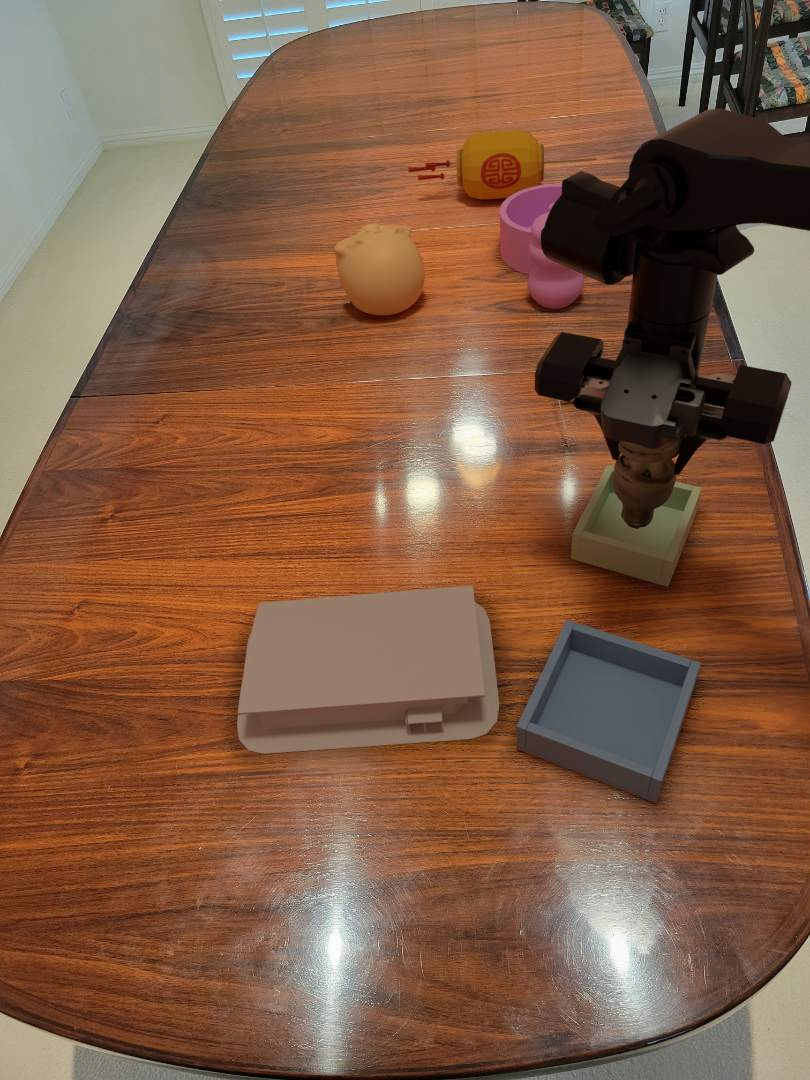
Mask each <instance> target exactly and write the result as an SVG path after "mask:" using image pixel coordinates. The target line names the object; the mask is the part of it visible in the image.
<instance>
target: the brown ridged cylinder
mask: <svg viewBox="0 0 810 1080" xmlns="http://www.w3.org/2000/svg"><path fill="white" fill-rule="evenodd" d="M685 436H686V435H681V436H680V438H679V440H678V441H676V440H672V439H667V441H666V443H665V444H664V445H663V446H661V447H659V448H656V449H650V448H645V447H643V446H641V445H638V444H634V443H629V442H625V441H621V440H620V441H619V443H618V448H619V451H620V452H621V454H620V456H619V458H618V460H615V463H614V467H615V468H614V477H613V486H614V490H615V493H616V495H617V497H618V498H619V500H620V501H621V502H622V506H623V509H622V512H621V517H622V518H623V520H624V521H625V522H626V523H627V525H628V526H630V527H632V528H635V529H639V528H640V527H646V526H647V525H648V524H649V523H650V522H651V521H652V519H653V514H654V509H655V508H658V507H660V506H661V505H663V504H664V503H665V502H666V501H667V500H668V499H669V498H670V496H671V494H672V491H673V487H674V484H675V482H677V477H678V475H675V474H674V470H675V463H676V462H675V461H674V460H673V459H675V458H677V457H678V455H679V452H680V450H681V447H682V444H683V442H684V439H685Z"/></svg>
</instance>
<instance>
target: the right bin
mask: <svg viewBox="0 0 810 1080" xmlns="http://www.w3.org/2000/svg"><path fill="white" fill-rule="evenodd" d="M614 468H615V465H614V466H613V465H610V464H607V465H606V466H605V469H604V470H603V472H602V475H601V476H600V478H599V480H598V482H597V484H596V486H595V488H594V490H593V492H592V493H591V496H590V498H589V500H588V502H587V504H586V506H585V507H584V510H583V512H582V513H581V515H580V518H579V520H578V521H577V524H576V526H575V528H574V529H573V532H572V534H571V550H570V559H571V560H574V561H577V562H581V563H585V564H588V565H591V566H595V567H598V568H601V569H604V570H607V571H608V570H609V571H611V572H615V573H618V574H622V575H625V576H629V577H632V578H635V579H639V580H642V581H646V582H650V583H653V584H656V585H658V586H659V585H660V586H662V587H666V588H669V586H670V583H671V580H672V578H673V576H674V573H675V570H676V568H677V566H678V562H679V560H680V557H681V555H682V553H683V549H684V547H685V546H686V545H685V544H686V542H687V539H688V537H689V534H690V531H691V529H692V526H693V524H694V521H695V519H696V516H697V513H698V509H699V506H700V505H699V504H700V500H701V494H702V490H703V488H702V487H700V486H696V485H692V484H688V483H685V482H680V481H676V482H675V484H674V487H673V491H672V494H671V496H670V498H669V499H668V500H667V501H666V502H665V503H664V504H663V505H661V506H660V507H658V508H655V509H654V514H653V519H652V521H651V522H650V523H649V524H648V525H647V526H646V527H640V528H639V529H635V528H632V527H630V526H628V525H627V523H626V522H625V521H624V520H623V518H622V517H621V512H622V509H623V506H622V502H621V501H620V500H619V498H618V497H617V495H616V493H615V490H614V486H613V477H614Z"/></svg>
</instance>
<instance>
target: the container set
mask: <svg viewBox="0 0 810 1080" xmlns="http://www.w3.org/2000/svg"><path fill="white" fill-rule="evenodd" d="M561 195H562V183H550V184H549V183H548V184H541V185H537V186H535V187H530V188H527V189H524V190H521V191H519V192H517V193H515V194H513V195H511V196H510V197H508V198H505V199H504V201H503V202H501V205H500V207H499V241H500V242H499V244H500V245H499V246H500V250H499V251H500V257H501V260H502V261H503V262H504V264H505V265H506V266H508V267H509V268H510V269H512V270H515V271H516V272H518V273H522V274H524V275H525V274H526V275H527V276H528V278H527V289H528V292H529V293H528V294H529V295H530V296H531V298H532V299H533V300H534V301H535V302H536V303H537V304H538V305H539V306H540V307H543V308H545V309H549V310H558V309H564V308H567V307H569V306H570V305H571V304H572V303H573V302H575V301H576V299H578V297H579V296H580V295H581V294H582V292H583V289H584V284H585V278H584V275H583V274H581V273H579V272H576V271H574V270H572V269H570V268H567V267H565V266H563V265H560V264H558V263H556V262H553V261H551V260H549V259H548V258H547V257H546V256H545V255H544V253H543V250H542V248H541V231H542V229H543V228H544V226H545V222H546V220H547V217H548V215H549V212H550V210H551V209H552V207H553V205H554V203H555V202H556V201H557V199H558V198H559V197H560V196H561Z"/></svg>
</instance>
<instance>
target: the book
mask: <svg viewBox="0 0 810 1080" xmlns="http://www.w3.org/2000/svg"><path fill="white" fill-rule="evenodd" d="M474 591H475V590H474V584H473V585H459V586H449V587H447V586H446V587H436V588H435V587H434V588H424V589H423V588H422V589H411V590H400V591H399V590H398V591H387V592H374V593H361V594H350V595H337V596H326V597H313V598H312V597H311V598H302V599H301V598H300V599H288V600H275V601H263V602H259V603H258V606H257V609H256V612H255V616H254V619H253V624H252V628H251V632H250V635H249V636H248V640H247V644H246V645H247V646H246V653H245V658H244V670H243V675H242V679H241V687H240V693H239V699H238V706H237V719H236V720H237V721H236V728H237V736H238V741H239V742H240V743H241V744H242V745H243V746H244V747H245V749H246V750H247V751H249V752H253V753H256V754H257V753H258V754H262V755H267V754H268V755H269V754H283V753H296V752H297V753H298V752H309V751H310V752H311V751H325V750H339V749H353V748H354V749H355V748H365V747H367V748H368V747H380V746H395V745H407V744H408V745H410V744H425V743H436V742H437V743H438V742H439V743H440V742H449V741H451V742H452V741H465V740H467V741H468V740H473V739H476V738H479V737H481V736H484V735H488V733H489V732H490V731H491V729H492V728H493V727H494V726H495V724H497V722H498V718H499V710H500V699H499V690H498V681H497V671H496V664H495V655H494V647H493V639H492V638H493V637H492V629H491V628H492V627H491V621H490V619H489V616H488V614H487V611H486V609H485V608H484V607H483V606H482V605H480V604H479V603H477V602H476V601H475V593H474Z"/></svg>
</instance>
